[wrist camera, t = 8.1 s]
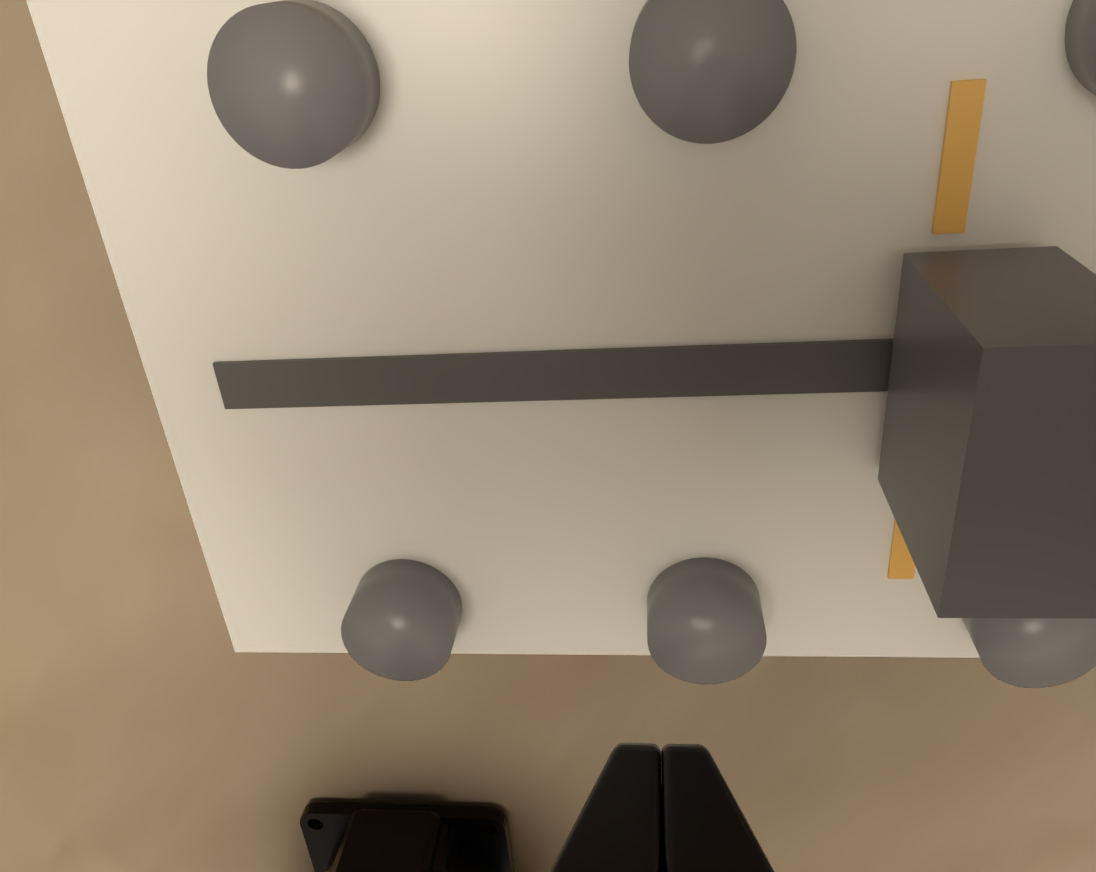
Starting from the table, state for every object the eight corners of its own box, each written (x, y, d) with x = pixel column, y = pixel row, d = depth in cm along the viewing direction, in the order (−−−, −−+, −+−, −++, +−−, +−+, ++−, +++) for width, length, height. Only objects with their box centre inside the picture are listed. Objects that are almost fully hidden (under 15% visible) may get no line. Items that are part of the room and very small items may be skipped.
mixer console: (1164, 571, 21) (1272, 701, 18) (280, 574, 24) (213, 688, 20) (1380, -119, 15) (1625, -140, 11) (120, -8, 17) (-22, 5, 14)
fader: (1011, 477, 17) (1108, 618, 13) (877, 478, 17) (938, 618, 13) (1057, 245, 15) (1186, 341, 11) (903, 252, 15) (983, 347, 11)
